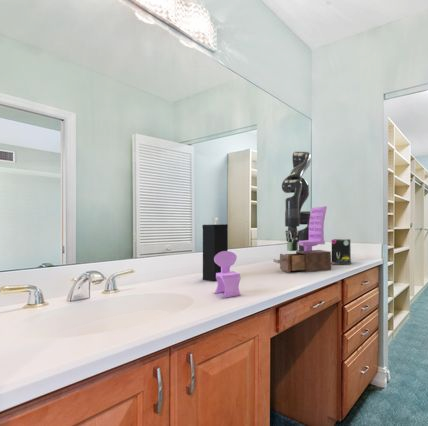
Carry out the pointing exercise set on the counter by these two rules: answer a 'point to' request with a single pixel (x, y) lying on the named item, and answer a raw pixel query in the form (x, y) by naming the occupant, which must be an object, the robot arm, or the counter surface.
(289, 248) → the block
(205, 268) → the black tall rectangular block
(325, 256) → the cabinet
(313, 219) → the purple chair
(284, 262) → the drawer
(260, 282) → the counter surface
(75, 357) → the counter surface
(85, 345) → the counter surface
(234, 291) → the toy chair
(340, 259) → the tampon box
